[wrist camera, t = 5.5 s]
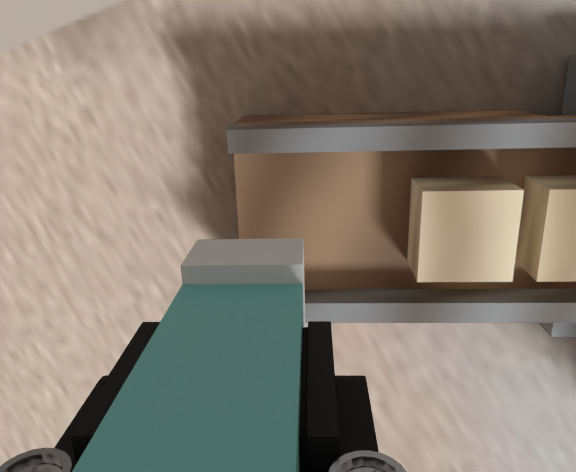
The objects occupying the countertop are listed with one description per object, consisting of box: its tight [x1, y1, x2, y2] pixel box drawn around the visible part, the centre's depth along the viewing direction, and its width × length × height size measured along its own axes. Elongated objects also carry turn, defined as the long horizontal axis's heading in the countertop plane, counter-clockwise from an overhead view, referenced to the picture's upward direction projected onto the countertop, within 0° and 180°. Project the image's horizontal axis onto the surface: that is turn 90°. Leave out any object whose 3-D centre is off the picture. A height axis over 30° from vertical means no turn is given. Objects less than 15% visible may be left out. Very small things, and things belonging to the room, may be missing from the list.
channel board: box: [226, 110, 576, 323], centre depth 25 cm, size 18×9×6 cm, turn 92°
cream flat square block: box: [407, 177, 524, 282], centre depth 22 cm, size 4×4×2 cm
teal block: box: [72, 238, 305, 472], centre depth 10 cm, size 3×5×10 cm, turn 1°
